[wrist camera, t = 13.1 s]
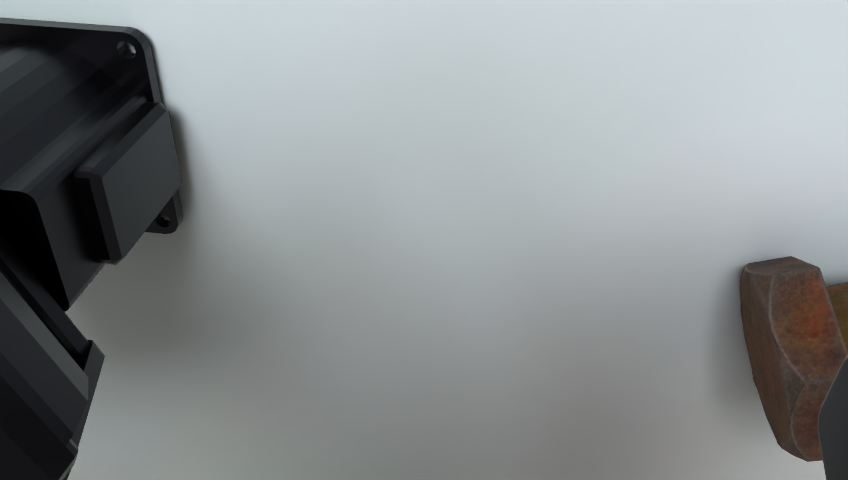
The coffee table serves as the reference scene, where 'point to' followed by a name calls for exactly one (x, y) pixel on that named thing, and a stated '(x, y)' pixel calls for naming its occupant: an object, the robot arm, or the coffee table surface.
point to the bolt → (793, 345)
